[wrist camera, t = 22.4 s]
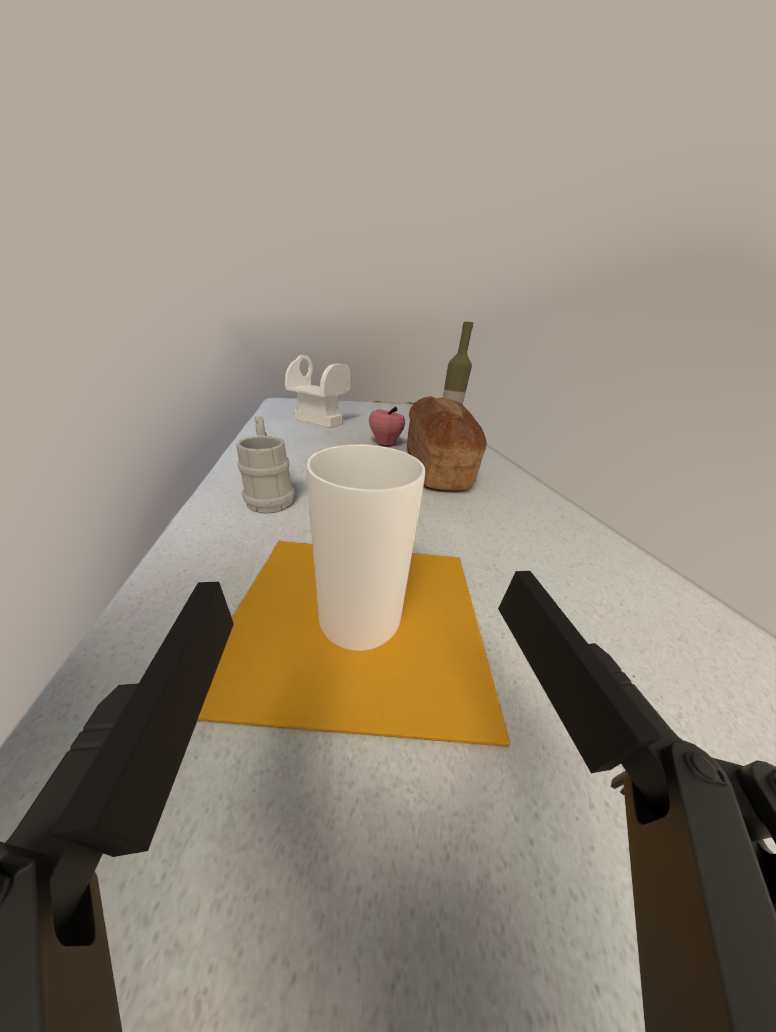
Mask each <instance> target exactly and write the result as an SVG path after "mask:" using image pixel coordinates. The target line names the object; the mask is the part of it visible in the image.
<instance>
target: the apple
mask: <svg viewBox="0 0 776 1032" xmlns="http://www.w3.org/2000/svg"><path fill="white" fill-rule="evenodd" d="M396 411H397V408H396V407H394V408H393V409H392V410H390V411H386V410H376V411H373V412H372V413H371V415H370V417H369V423H370V427H371V430H372V432H373V434H374V435H375V438H376V440H377V442H378V443H379V444H380V445H385V446H387V445H392V444H394V443H395V442H396V440H397V438H398V437H399V435H400V434H401V432H402V431H403V429H404V426H405V419H404V416H402V415H400V414H398V413H395V412H396Z"/></svg>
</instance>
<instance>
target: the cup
mask: <svg viewBox="0 0 776 1032" xmlns="http://www.w3.org/2000/svg"><path fill="white" fill-rule="evenodd" d="M306 472H307V484H308V496H309V508H310V520H311V532H312V544H313V555H314V567H315V579H316V591H317V603H318V614H319V623H320V626H321V629H322V631H323V633H324V634H325V636H326V637H327V638H328V639H329V640H330V641H331V642H333V643H334V644H336V645H337V646H340V647H342V648H345V649H348V650H354V651H364V650H370V649H373V648H376V647H379V646H381V645H383V644H384V643H386V642H387V641H388V640H389V639H391V638H392V636H393V635H394V634H395V633H396V631H397V629H398V627H399V624H400V620H401V615H402V609H403V603H404V597H405V591H406V585H407V579H408V573H409V568H410V562H411V556H412V550H413V544H414V538H415V532H416V527H417V521H418V515H419V509H420V503H421V497H422V491H423V485H424V479H425V467H424V465H423V464H422V463H421V462H420V461H419V460H418V459H417V458H415V457H413V456H412V455H410V454H407V453H405V452H402V451H399V450H396V449H392V448H388V447H382V446H375V445H341V446H335V447H330V448H326V449H323V450H321V451H318V452H316V453H315V454H313V455H312V456H311V457H310V458H309V459H308V461H307V467H306Z"/></svg>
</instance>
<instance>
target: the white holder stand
mask: <svg viewBox="0 0 776 1032" xmlns="http://www.w3.org/2000/svg"><path fill="white" fill-rule="evenodd" d="M303 358H304V359H306V360H307V362H308V365H309V370H308V374H307V375H306V376H303V375H302V374H301V372H300V369H299V365H300V361H301V360H302V359H303ZM312 370H313V367H312V362H311V360H310V358H309V357H308V356H306V355H300V356H298V358H297V359H296V360H294V361H293V362H292V363H291V364H290V365H289V367H288V369H287V372H286V377H285V387H286V390H291V391H296V392H297V395H298V407H299V409H297V410H295V417H296V419H297V420H301V421H305V422H309V423H313V424H317V425H321V426H325V427H329V428H332V427H335V426H338V425H341V424H342V415H340V414H338V399H337V398H338V395H339V394H344V393H345V391H350V370H349V367H348V366H347V365H345V364H332V365H330V366H328V367H327V368H326V370H325V371H324V373H323V375H322V378H321V383H320V387H318V386H313V385H311V382H310V381H311V380H310V376H311V375H312Z"/></svg>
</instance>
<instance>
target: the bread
mask: <svg viewBox="0 0 776 1032" xmlns="http://www.w3.org/2000/svg"><path fill="white" fill-rule="evenodd" d="M409 417H410V424H409V431H408V440H407V448H408V450H409V451H410V454H411V455H412V456H413V457H415V458H417V459H418V460H419V461H420V462H421V463H422V464H423V465H424V467H425V479H424V484H425V485H426V486H427V487H430V488H434V489H441V490H465V489H469V488H471V487H472V486H473V484H474V482H475V479H476V476H477V473H478V470H479V467H480V464H481V459H482V457H483V454H484V452H485V450H486V439H485V435H484V432H483V430H482V428H481V426H480V425H479V424H478V422H477V421H476V420H475V419H474V417H473V416H472V414H471V413H470V412H469V411H468V410H467V409H466V408H465V407H464V406H463V405H462V404H461V403H460V402H456V401H453V400H450V399H445V398H439V399H437V398H434V397H425V398H422V399H420V400H418V401H417V402H415V403H414V404H413V406H412V407H411V409H410V412H409Z"/></svg>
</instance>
